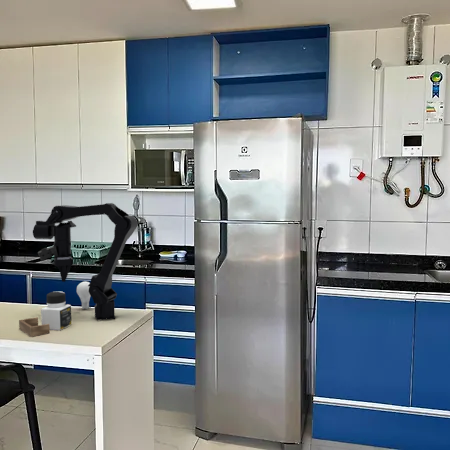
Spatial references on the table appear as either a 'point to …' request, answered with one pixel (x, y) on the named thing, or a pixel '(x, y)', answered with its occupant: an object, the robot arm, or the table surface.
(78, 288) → the lightbulb
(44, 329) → the corral
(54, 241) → the robot arm
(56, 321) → the medicine bottle
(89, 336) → the table surface
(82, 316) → the table surface
